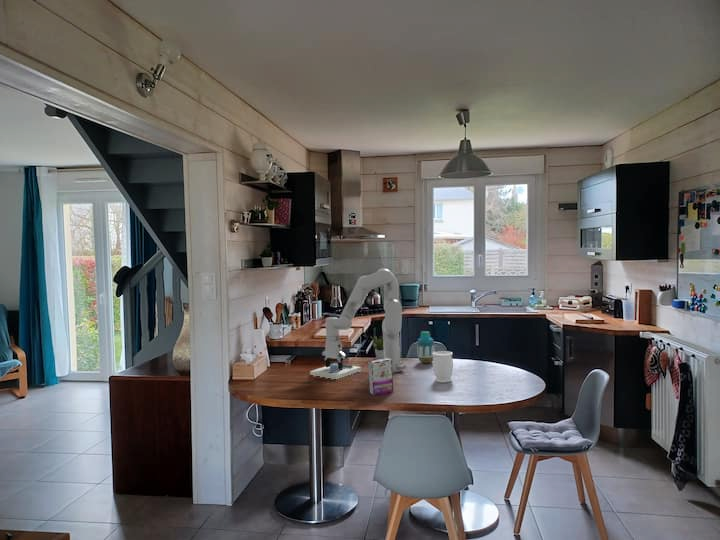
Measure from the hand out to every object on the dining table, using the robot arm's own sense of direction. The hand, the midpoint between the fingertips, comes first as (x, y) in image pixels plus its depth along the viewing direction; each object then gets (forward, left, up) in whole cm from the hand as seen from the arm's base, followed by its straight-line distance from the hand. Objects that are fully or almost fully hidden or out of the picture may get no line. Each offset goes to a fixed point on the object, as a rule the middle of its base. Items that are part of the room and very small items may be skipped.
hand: (334, 367), depth 288 cm
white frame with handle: (0, -1, -4) cm, 4 cm away
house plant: (0, -43, -4) cm, 43 cm away
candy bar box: (-46, +17, -4) cm, 49 cm away
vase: (-33, -48, -4) cm, 59 cm away
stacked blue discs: (0, 0, -4) cm, 4 cm away
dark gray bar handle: (0, -8, -1) cm, 8 cm away
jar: (-62, -17, -4) cm, 64 cm away
